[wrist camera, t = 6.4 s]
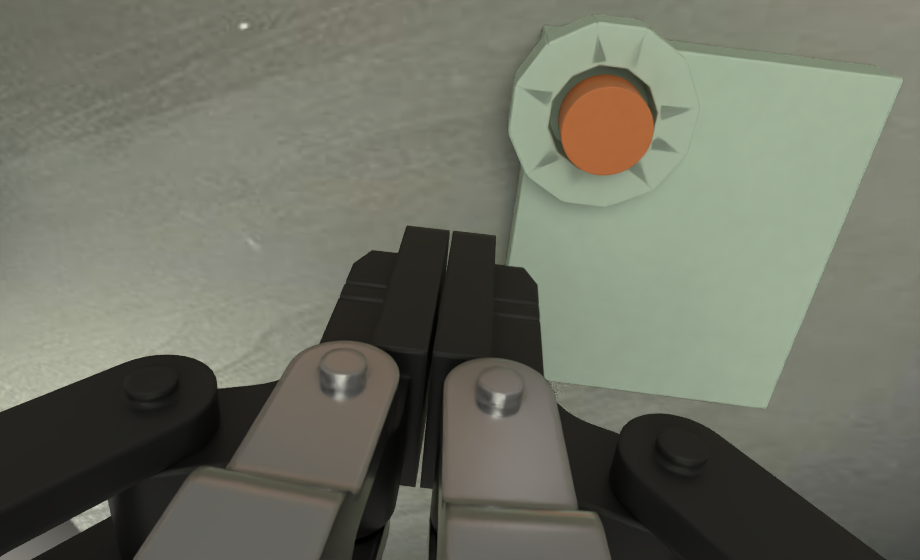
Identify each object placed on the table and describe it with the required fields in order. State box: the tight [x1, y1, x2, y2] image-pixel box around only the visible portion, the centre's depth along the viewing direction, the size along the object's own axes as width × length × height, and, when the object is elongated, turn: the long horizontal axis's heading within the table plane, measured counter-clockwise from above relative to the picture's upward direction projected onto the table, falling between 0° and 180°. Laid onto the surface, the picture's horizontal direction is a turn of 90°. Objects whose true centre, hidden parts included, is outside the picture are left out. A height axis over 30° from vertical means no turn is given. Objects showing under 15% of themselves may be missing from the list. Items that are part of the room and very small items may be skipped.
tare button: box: [558, 74, 654, 176], centre depth 20 cm, size 3×3×2 cm
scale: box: [505, 14, 903, 409], centre depth 24 cm, size 14×12×4 cm
